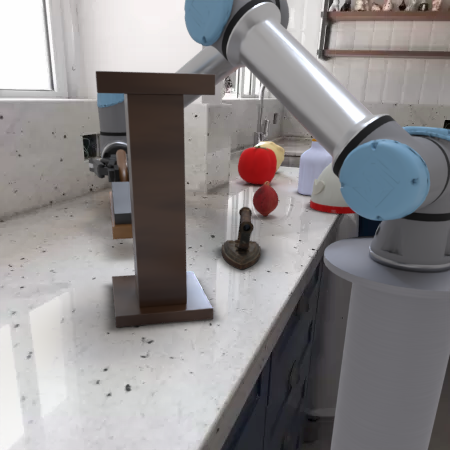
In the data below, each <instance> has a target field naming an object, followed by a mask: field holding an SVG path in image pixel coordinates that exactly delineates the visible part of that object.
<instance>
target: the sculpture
mask: <svg viewBox="0 0 450 450" xmlns="http://www.w3.org/2000/svg"><path fill="white" fill-rule="evenodd" d="M258 145H260V147H266V148H269V149H272V150H273V151H274V152H275V155H276V159H277V168H276V172H278V170H279V169H280V167H281V165H282V163H283V162H284V160H285V153H286V150H285V148H284V147H282V146H280V145H278V144H277V143H275V142H274V141H268V140H266V141H259V143H258V144H255V145H254V146H253V147H255V146H256V147H258Z"/></svg>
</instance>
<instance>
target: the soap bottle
mask: <svg viewBox="0 0 450 450" xmlns="http://www.w3.org/2000/svg"><path fill="white" fill-rule="evenodd" d="M330 163H332V156H331V155H330V154H329V153H328V152H327V151H326V150H325V149H324V148H323V147H322V146H321V145H320V144H319V143H318V141H317V140H316V139H315V138H311V146H310V148H308V149H306V150H305V151H304V152H303V153H301V155H300V157H299V166H298V167H299V168H298V181H297V193H299V194H300V195H303V196H310V197H311V195H312V192H313V184H314V180H315V179H318V177H319V176H320V174H321V173H322V171H323V170H324V169H325V168H326V167H327V166H328V165H329V164H330Z"/></svg>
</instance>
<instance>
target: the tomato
mask: <svg viewBox="0 0 450 450" xmlns="http://www.w3.org/2000/svg"><path fill="white" fill-rule="evenodd" d="M254 146H255V147H254ZM254 146H251V147H250V146H248V147H246V148H245V149H243V151H242V152H241V154H240V156H239V159H238V164H237V172H238V175H239V177H240V179H242V181H244V182H246V183H248V184H252V185H253V184H254V185H261V186H262V185H263V184H264V183H265V182H267V181H269V182H270V183H271V182H272V181H273V179H274V178H275V176H276V172H277V171H276V168H277V159H276V155H275V152H274V151H273V150H272V149H269V148H266V147H260V145H258V147H256V145H254Z"/></svg>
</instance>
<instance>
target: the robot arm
mask: <svg viewBox="0 0 450 450" xmlns="http://www.w3.org/2000/svg"><path fill="white" fill-rule="evenodd" d="M183 8H184V10H183V11H184V23H185V27H186V30H187V33H188V34H189V36H190V38H191V39H192V40H193V41H194V42H195V43H197V44H199V45H201V46H203V47H204V48H202V49H201V50H200V51H199V52H198V53H197V54H196V55H194V56H192V58H190V59H189V60H188V61H187V62H186V63H185V64H183V65H182V66H181V67H180V68H179V69H178V70H177V71H175V73H191V74H215V86H217V85H218V84H219V83H221V82H223V81H224V80H226V79H227V78H228V77H229V76H231V75H232V74H233V73H236V71H237V70H239V69H242V68H246V69H248V70H249V72H250V73H251V74H252V75H253V76H254V77H255V78H256V79H257V80H258V81H259V82H260V83H261V84H262V85H263V86H264V87H265V88H266V89H267V90H268V91H269V92H270V93H271V95H272V96H273V97H274V98H275V99H276V100H277V101H278V103H280V104H281V105H282V106H283V107H284V108H285V109H286V111H288V112H289V114H290V115H292V117H293V118H294V119H295V120H296V121H297V122H298V123H299V124H300V125H301V126H302V127H303V128H304V129H305V130H306V131H307V132H308V133H309V134H310V136H311V137H312V138H313V139H316V140H317V141H318V143H319V144H320V145H321V146H322V147H323V148H324V149H325V150H326V151H327V152H328V153H329V154H330V155H331V156H332V171H333V173H334V174H335V175H336V176H337V177H338V178H339V181H340V183H341V188H340V190H341V193H342V196H343V198H344V200H345V202H346V203H347V205H348V206H349V207H350V208H351V209H352V210H353V211H354V212H356V213H355V214H357V215H359V216H360V217H362V218H365V219H367V220H371V221H378V222H380V223H379V224H378V226H377V229H376V231H375V234H374V235H373V236H374V238H373V240H372V242H371V245H370V249H369V257H370V258H371V259H372V260H373V261H375V262H377V263H379V264H381V265H384V266H387V267H390V268H394V269H398V270H403V271H410V272H420V273H436V272H444V271H448V270H450V129H449V128H443V127H433V126H432V127H431V126H416V125H414V126H412V125H411V126H409V125H407V126H402V125H401V124H400V123H398V122H397V121H396V120H395V118H393V117H392V116H391V114H389V113H380V114H374V113H372V112H371V111H370V110H369V109H368V108H367V107H366V106H365V105H364V104H363V103H362V102H361V100H359V99H358V98H357V97H356V96H355V95H354V94H353V93H352V92H351V91H350V90H349V89H348V88H347V87H346V86H345V85H344V84H342V82H341V81H340V80H338V78H337V77H335V76H334V74H332V73H331V71H330V70H328V68H326V67H325V66H324V64H322V63H321V62H320V61H319V60H318V58H316V57H315V56H314V55H313V54H312V53H311V52H310V51H309V49H307V48H306V47H305V46H304V45H303V44H302V43H301V42H300V41H299V39H297V38H295V36H294V35H293V34H292V33H291V32H290V31H288V27H289V22H290V8H289V2H288V0H184V7H183ZM202 96H203V95H184V109H185V108H187V107H188V106H190V105H191V104H192V103H194V102H196V101H197V100H198V99H199V98H200V97H202ZM96 107H97V110H98V112H97V113H98V121H99V123H98V124H99V140H100V141H99V142H100V157H101V158H100V159H99V158H93V157H90V158H88V169H89V172H90V173H94V175H95V176H97V178H99V179H104V178H106V177H107V180H108V183H111V182H120V179H119V168H118V165H117V159H116V152H117V151H118V150H124V151H125V152H126V156H127V164H128V152H127V136H126V119H125V103H124V94H116V93H97V92H96ZM128 172H129V169H128Z"/></svg>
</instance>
